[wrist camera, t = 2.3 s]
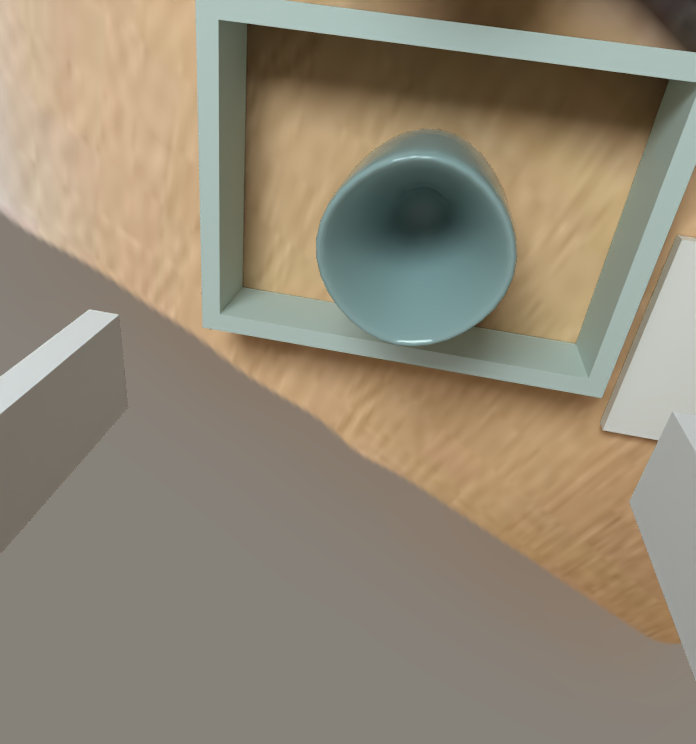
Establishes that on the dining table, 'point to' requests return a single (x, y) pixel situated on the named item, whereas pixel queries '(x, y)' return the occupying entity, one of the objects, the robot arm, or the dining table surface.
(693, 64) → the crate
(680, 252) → the plate
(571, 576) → the dining table surface
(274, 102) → the dining table surface
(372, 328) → the cup
